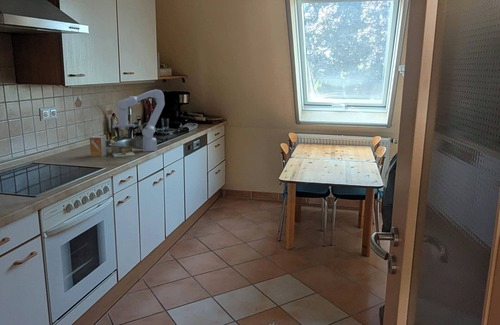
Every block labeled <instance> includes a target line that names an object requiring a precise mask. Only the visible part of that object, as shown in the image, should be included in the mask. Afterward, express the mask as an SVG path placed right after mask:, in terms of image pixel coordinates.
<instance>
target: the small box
mask: <svg viewBox="0 0 500 325" xmlns="http://www.w3.org/2000/svg"><path fill="white" fill-rule="evenodd" d="M89 146H90V156H91V157H100V158H103V157H104V156H107V144H106V135H105V136H104V135H93V136H90V137H89Z"/></svg>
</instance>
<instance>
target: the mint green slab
mask: <svg viewBox="0 0 500 325" xmlns="http://www.w3.org/2000/svg"><path fill="white" fill-rule="evenodd" d="M121 152H122V153H117V154H112V155H113V156H114V157H121V158H125V157H124V156H134V157H136V154H135V153H134V152H133V151H132V152H129V153H126V150H125V149H121ZM113 156H112V157H113ZM114 157H113V158H114Z"/></svg>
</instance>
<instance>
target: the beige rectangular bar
mask: <svg viewBox="0 0 500 325" xmlns="http://www.w3.org/2000/svg"><path fill="white" fill-rule="evenodd" d="M109 142H110V144H111V146H116V142H115V140H114V139H110V141H109Z"/></svg>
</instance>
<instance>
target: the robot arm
mask: <svg viewBox="0 0 500 325" xmlns="http://www.w3.org/2000/svg"><path fill="white" fill-rule="evenodd" d="M147 98H151V99H152V98H153V99H154V100H155V103H156V105H155V108H154V109H153V111H152V114H151V116H150V118H149V121H148V122H147V124H146V125H145V127H144V128H143V129H142V131H141V134H142V136H143V137H142V149H141V150H142V152H143V153H144V152H156V151H158V146H157V145H158V144H157V138H156V137H154V131H155V126H156V125H157V122H158V120H159V118H160V115H161V114H162V111H163V109H164V107H165V105H166V102H165V95H164V92H163V91H162V90H161V89H157V88H156V89H153V90H148V91H146V92H144V93H141V94H139V95H136V96H134V95H129V97H127V98H123V100H118V102H117V104H116V106H117V108H118V113H117V114H118V124H112V128H113V129H114V130H115V132H116V134H117V139H120V128H122V127H123V128H128V131H129V132H128V133H129V134H128V136H129V137H128V138H131V137H132V133H133V130H134V128H135V127H136V126H135V125H136V124H135V123H129V122H128V119H129V118H128V111H127V110H128V109H127V108H130V107H132V106H134V105H137V104H138V102H139V101H141V100H145V99H147Z"/></svg>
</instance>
